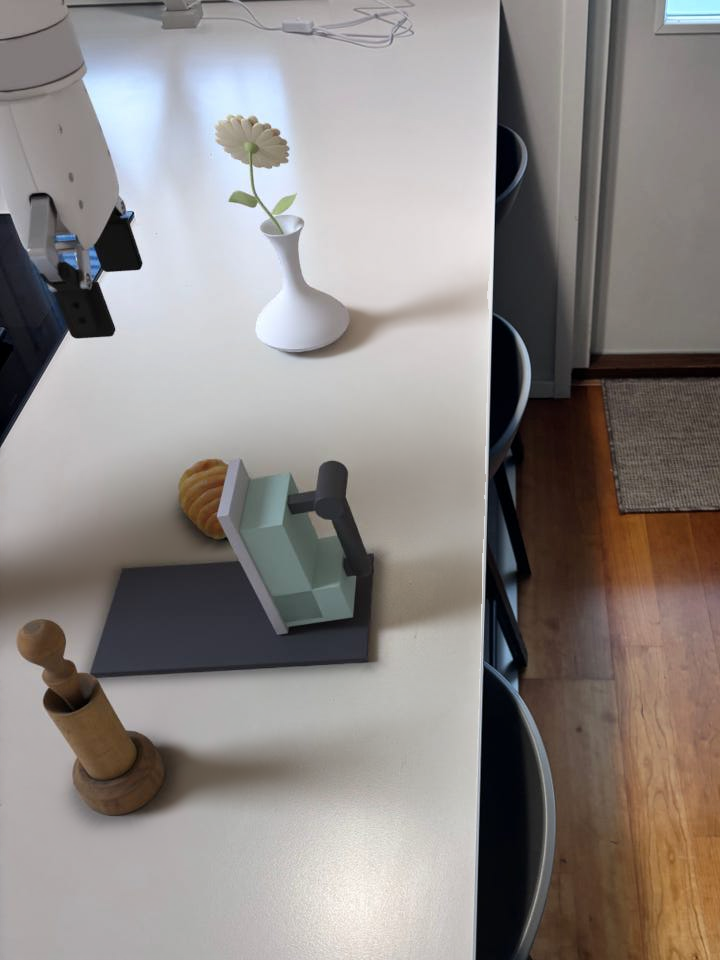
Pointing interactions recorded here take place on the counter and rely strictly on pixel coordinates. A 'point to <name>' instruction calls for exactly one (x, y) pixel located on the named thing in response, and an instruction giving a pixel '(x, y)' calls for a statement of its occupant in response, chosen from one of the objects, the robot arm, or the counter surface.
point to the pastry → (204, 495)
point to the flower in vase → (282, 248)
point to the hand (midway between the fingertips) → (109, 301)
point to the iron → (294, 544)
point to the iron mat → (216, 625)
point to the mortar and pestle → (92, 728)
